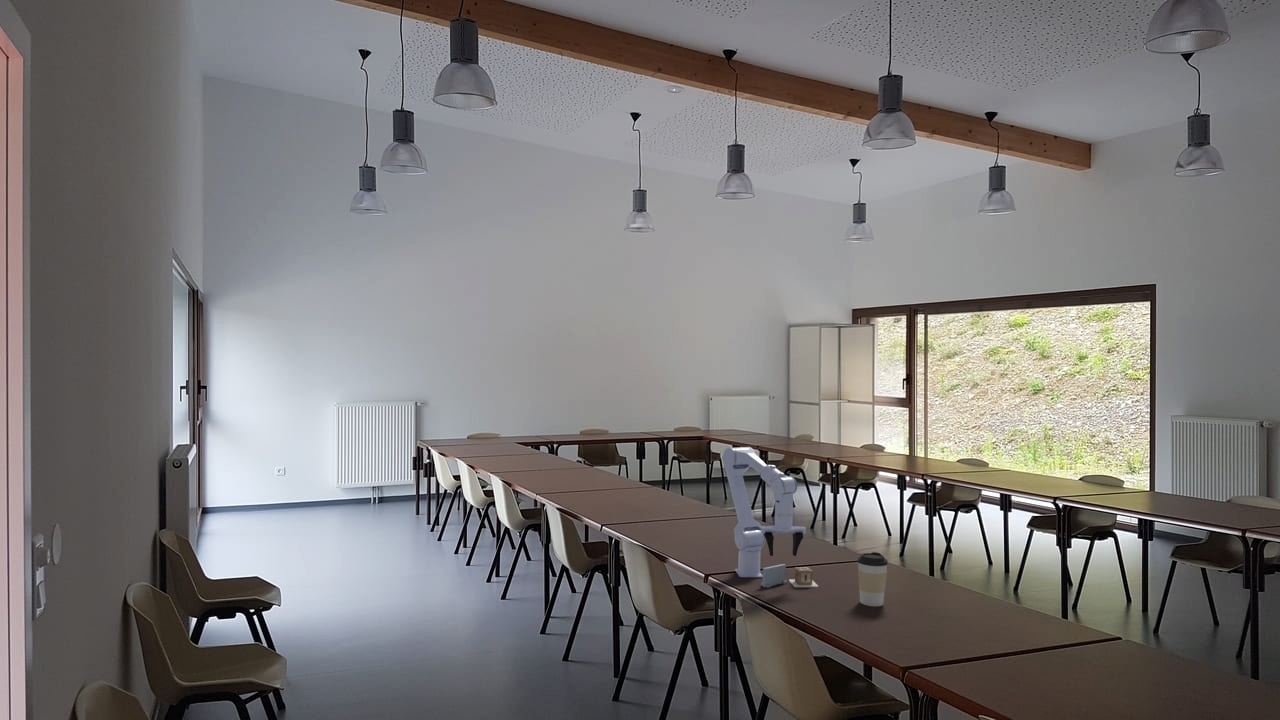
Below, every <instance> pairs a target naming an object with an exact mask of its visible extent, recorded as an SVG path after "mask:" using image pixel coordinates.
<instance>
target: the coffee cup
mask: <svg viewBox="0 0 1280 720" xmlns="http://www.w3.org/2000/svg"><path fill="white" fill-rule="evenodd" d="M888 561H889V560H888V559H886V558H885V556H884V555H882V554H881V553H879V552H875V551H872V552H866V553H865V552H864V553H862V554H861V555H860V556H858V557H857V561H856V562H857V565H858V566H857V567H858V569H857V575H858V577H857V578H858V589H859V603H860V604H862V605H864V606H868V607H881V606H883V605H884V601H885V600H884V599H885V592H886V583H887V575H888V574H887V573H888V571H887V569H888V568H887V567H888V564H889V563H888Z"/></svg>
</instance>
